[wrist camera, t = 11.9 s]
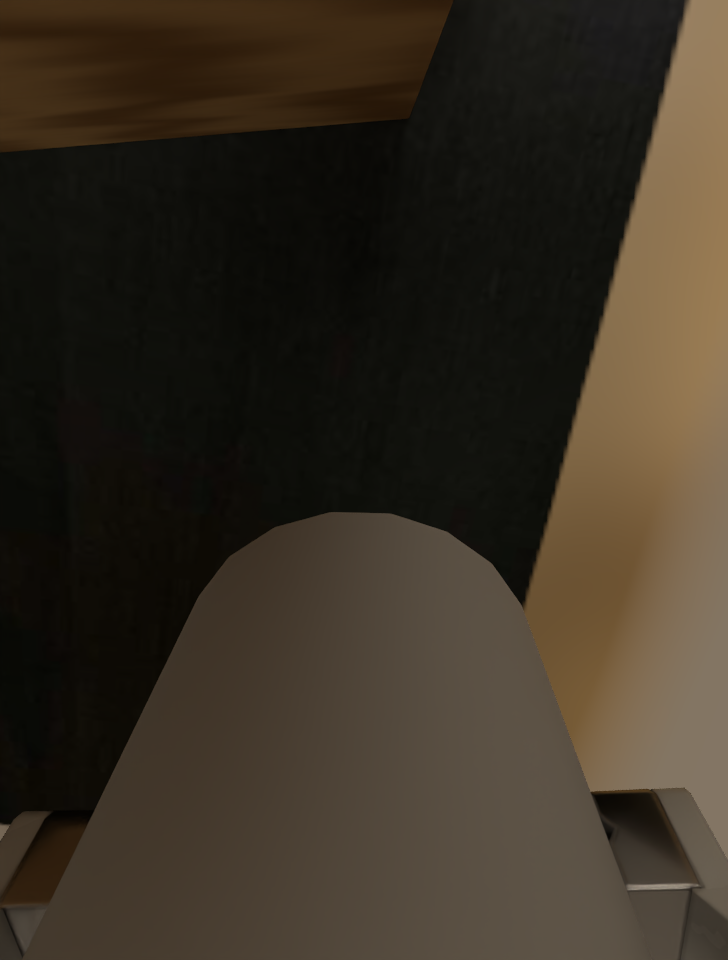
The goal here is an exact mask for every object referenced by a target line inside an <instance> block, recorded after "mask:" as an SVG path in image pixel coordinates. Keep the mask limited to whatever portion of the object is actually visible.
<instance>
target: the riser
mask: <svg viewBox="0 0 728 960" xmlns="http://www.w3.org/2000/svg"><path fill="white" fill-rule="evenodd" d="M453 1H454V0H0V152H11V151H23V150H35V149H47V148H59V147H71V146H83V145H95V144H107V143H119V142H131V141H143V140H155V139H167V138H179V137H191V136H203V135H215V134H227V133H239V132H251V131H263V130H275V129H287V128H299V127H311V126H323V125H335V124H347V123H359V122H371V121H383V120H395V119H407V118H409V117H410V115H411V112H412V109H413V107H414V104H415V101H416V99H417V96H418V93H419V91H420V88H421V85H422V83H423V80H424V78H425V75H426V72H427V70H428V67H429V64H430V62H431V59H432V56H433V54H434V51H435V48H436V46H437V43H438V40H439V38H440V35H441V32H442V30H443V27H444V24H445V22H446V19H447V17H448V14H449V11H450V9H451V6H452V3H453Z"/></svg>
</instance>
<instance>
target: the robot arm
mask: <svg viewBox="0 0 728 960" xmlns="http://www.w3.org/2000/svg"><path fill="white" fill-rule="evenodd" d="M591 795H592V798H593V801H594V803H595V806H596V809H597V811H598V814H599V817H600V820H601V822H602V825H603V828H604V830H605V833H606V836H607V838H608V841H609V844H610V847H611V849H612V852H613V855H614V857H615V860H616V863H617V866H618V868H619V871H620V874H621V876H622V879H623V882H624V884H625V887H626V890H627V893H628V895H629V898H630V901H631V903H632V906H633V909H634V912H635V914H636V917H637V920H638V922H639V925H640V928H641V930H642V933H643V936H644V939H645V941H646V944H647V947H648V949H649V952H650V955H651V958H652V960H728V860H727V858H726V856H725V854H724V852H723V851H722V849H721V847H720V845H719V843H718V842H717V840H716V838H715V836H714V834H713V833H712V831H711V829H710V828H709V825H708V824H707V822H706V820H705V818H704V817H703V815H702V813H701V811H700V809H699V808H698V806H697V804H696V802H695V800H694V798H693V797H692V795H691V793H690V792H688V791H687V790H686V789H685V788H671V789H670V788H668V789H651V790H649V789H638V790H637V789H636V790H615V791H595V792H591ZM94 811H95V810H72V811H24V812H22V813H21V814H20V815H19V816H18V817H16V818H15V819H14V820H13V822H12V823H11V825H10V826H9V828H8V830H7V831H6V833H5V835H4V836H3V838H2V839H1V841H0V960H22V959H23V956H24V954H25V952H26V950H27V948H28V946H29V944H30V942H31V940H32V938H33V936H34V934H35V932H36V930H37V928H38V926H39V924H40V922H41V919H42V917H43V915H44V913H45V911H46V909H47V907H48V905H49V903H50V901H51V899H52V897H53V895H54V893H55V891H56V889H57V887H58V885H59V882H60V880H61V878H62V876H63V874H64V872H65V870H66V868H67V866H68V864H69V862H70V860H71V858H72V856H73V854H74V852H75V850H76V848H77V845H78V843H79V841H80V839H81V837H82V835H83V833H84V831H85V829H86V827H87V825H88V823H89V821H90V819H91V817H92V815H93V813H94Z"/></svg>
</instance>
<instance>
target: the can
mask: <svg viewBox="0 0 728 960" xmlns="http://www.w3.org/2000/svg"><path fill="white" fill-rule="evenodd" d="M22 960H652V958H651V955H650V952H649V949H648V947H647V944H646V941H645V939H644V936H643V933H642V930H641V928H640V925H639V922H638V920H637V917H636V914H635V912H634V909H633V906H632V903H631V901H630V898H629V895H628V893H627V890H626V887H625V884H624V882H623V879H622V876H621V874H620V871H619V868H618V866H617V863H616V860H615V857H614V855H613V852H612V849H611V847H610V844H609V841H608V838H607V836H606V833H605V830H604V828H603V825H602V822H601V820H600V817H599V814H598V811H597V809H596V806H595V803H594V801H593V798H592V795H591V792H590V790H589V787H588V784H587V782H586V779H585V776H584V773H583V771H582V768H581V765H580V763H579V760H578V757H577V755H576V752H575V749H574V746H573V744H572V741H571V738H570V736H569V733H568V730H567V728H566V725H565V722H564V719H563V717H562V714H561V711H560V709H559V706H558V703H557V701H556V698H555V695H554V692H553V690H552V687H551V684H550V682H549V679H548V676H547V673H546V671H545V668H544V665H543V663H542V660H541V657H540V654H539V652H538V649H537V646H536V644H535V641H534V638H533V635H532V633H531V630H530V627H529V625H528V622H527V619H526V617H525V614H524V611H523V608H522V606H521V604H520V603H519V601H518V600H517V598H516V597H515V596H514V594H513V593H512V591H511V590H510V589H509V587H508V586H507V584H506V583H505V582H504V580H503V579H502V577H501V576H500V574H499V573H498V572H497V570H496V569H495V567H494V566H493V565H492V564H491V563H490V562H489V561H487V560H486V559H484V558H483V557H482V556H480V555H479V554H477V553H476V552H475V551H473V550H472V549H470V548H469V547H467V546H466V545H465V544H463V543H462V542H460V541H459V540H458V539H456V538H455V537H453V536H452V535H451V534H449V533H448V532H446V531H443V530H440V529H437V528H433V527H430V526H427V525H424V524H421V523H418V522H415V521H412V520H409V519H406V518H403V517H399V516H396V515H393V514H383V513H343V512H330V513H326V514H322V515H319V516H315V517H311V518H308V519H304V520H300V521H297V522H293V523H289V524H285V525H282V526H278V527H275V528H273V529H271V530H270V531H268V532H267V533H265V534H264V535H262V536H261V537H259V538H258V539H256V540H254V541H253V542H251V543H250V544H248V545H247V546H245V547H244V548H242V549H241V550H239V551H237V552H236V553H234V554H233V555H231V556H230V557H229V558H228V559H227V560H226V561H225V563H224V564H223V565H222V567H221V568H220V569H219V571H218V572H217V573H216V575H215V576H214V577H213V578H212V580H211V581H210V582H209V584H208V585H207V586H206V588H205V589H204V590H203V592H202V593H201V594H200V595H199V597H198V599H197V601H196V603H195V605H194V607H193V609H192V611H191V613H190V615H189V617H188V619H187V621H186V624H185V626H184V628H183V630H182V632H181V634H180V636H179V638H178V640H177V642H176V644H175V646H174V648H173V650H172V652H171V654H170V656H169V658H168V661H167V663H166V665H165V667H164V669H163V671H162V673H161V675H160V677H159V679H158V681H157V683H156V685H155V687H154V689H153V691H152V693H151V695H150V698H149V700H148V702H147V704H146V706H145V708H144V710H143V712H142V714H141V716H140V718H139V720H138V722H137V724H136V726H135V728H134V730H133V732H132V735H131V737H130V739H129V741H128V743H127V745H126V747H125V749H124V751H123V753H122V755H121V757H120V759H119V761H118V763H117V765H116V767H115V769H114V772H113V774H112V776H111V778H110V780H109V782H108V784H107V786H106V788H105V790H104V792H103V794H102V796H101V798H100V800H99V802H98V804H97V806H96V809H95V811H94V813H93V815H92V817H91V819H90V821H89V823H88V825H87V827H86V829H85V831H84V833H83V835H82V837H81V839H80V841H79V843H78V845H77V848H76V850H75V852H74V854H73V856H72V858H71V860H70V862H69V864H68V866H67V868H66V870H65V872H64V874H63V876H62V878H61V880H60V882H59V885H58V887H57V889H56V891H55V893H54V895H53V897H52V899H51V901H50V903H49V905H48V907H47V909H46V911H45V913H44V915H43V917H42V919H41V922H40V924H39V926H38V928H37V930H36V932H35V934H34V936H33V938H32V940H31V942H30V944H29V946H28V948H27V950H26V952H25V954H24V956H23V959H22Z"/></svg>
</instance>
